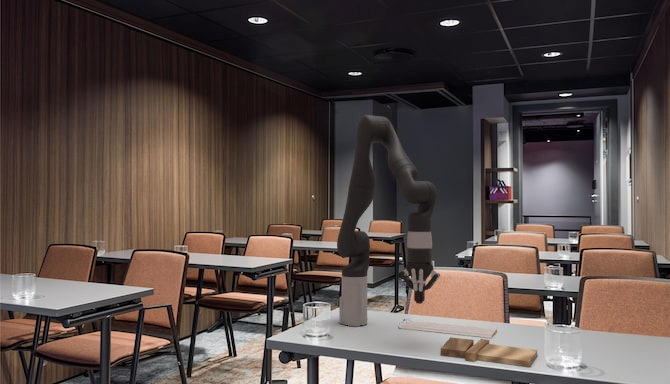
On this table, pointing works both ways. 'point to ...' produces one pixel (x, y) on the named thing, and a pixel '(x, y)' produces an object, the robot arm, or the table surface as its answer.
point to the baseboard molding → (449, 329)
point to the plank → (456, 347)
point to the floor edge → (500, 354)
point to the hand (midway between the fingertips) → (419, 303)
